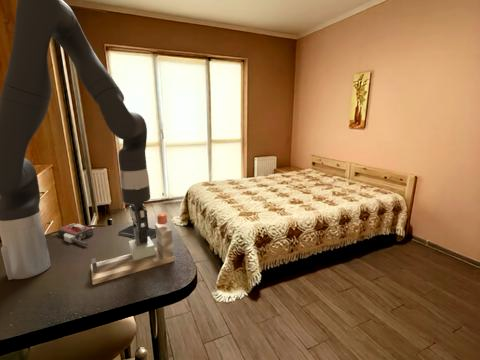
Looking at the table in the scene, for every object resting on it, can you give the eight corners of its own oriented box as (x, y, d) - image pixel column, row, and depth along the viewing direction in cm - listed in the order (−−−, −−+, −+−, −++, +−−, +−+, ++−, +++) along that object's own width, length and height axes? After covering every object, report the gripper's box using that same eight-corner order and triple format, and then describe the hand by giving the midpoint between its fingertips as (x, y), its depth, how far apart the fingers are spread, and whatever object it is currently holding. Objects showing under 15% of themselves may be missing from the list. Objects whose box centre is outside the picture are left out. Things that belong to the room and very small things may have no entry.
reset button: (159, 225, 77) (158, 217, 77) (156, 222, 80) (156, 214, 79) (168, 223, 79) (167, 215, 78) (165, 220, 81) (165, 213, 81)
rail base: (92, 284, 68) (87, 250, 65) (91, 268, 75) (86, 237, 73) (174, 260, 79) (172, 230, 77) (166, 248, 86) (163, 221, 84)
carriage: (133, 260, 73) (130, 234, 71) (129, 249, 79) (126, 225, 77) (155, 254, 76) (152, 229, 74) (149, 245, 82) (147, 221, 80)
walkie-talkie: (51, 237, 96) (84, 249, 87) (49, 226, 95) (82, 237, 86) (75, 228, 104) (107, 238, 95) (73, 218, 103) (106, 227, 94)
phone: (148, 239, 92) (117, 232, 97) (148, 241, 92) (117, 235, 98) (162, 230, 99) (132, 224, 104) (162, 233, 99) (133, 227, 105)
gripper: (117, 181, 77) (123, 231, 81) (124, 192, 65) (131, 250, 69) (143, 178, 81) (148, 226, 84) (154, 188, 69) (159, 243, 72)
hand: (140, 237), depth 76 cm, fingers open, 8 cm apart
